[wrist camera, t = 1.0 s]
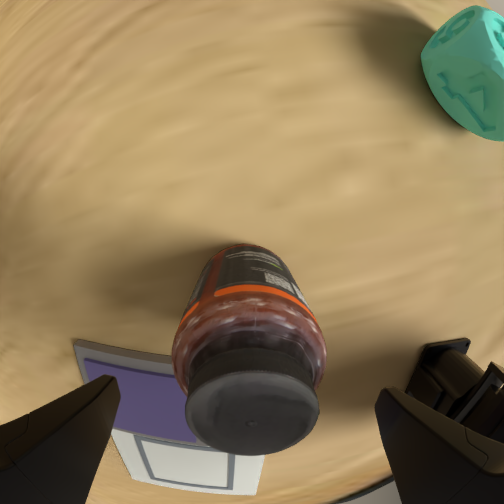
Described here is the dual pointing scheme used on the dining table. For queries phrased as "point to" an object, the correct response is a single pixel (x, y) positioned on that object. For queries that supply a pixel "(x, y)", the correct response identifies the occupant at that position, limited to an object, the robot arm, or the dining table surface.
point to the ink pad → (140, 391)
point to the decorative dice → (469, 70)
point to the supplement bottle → (249, 355)
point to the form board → (188, 465)
